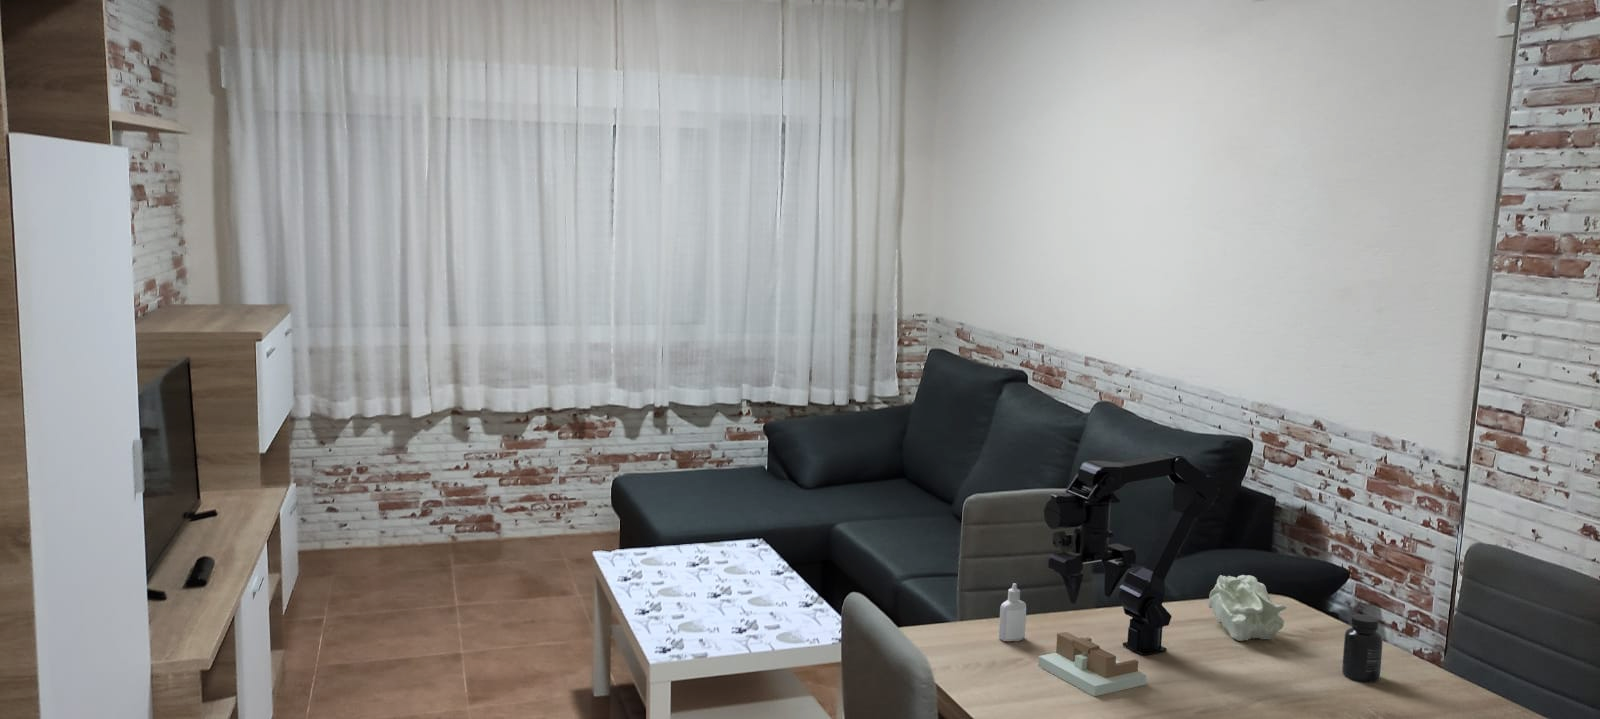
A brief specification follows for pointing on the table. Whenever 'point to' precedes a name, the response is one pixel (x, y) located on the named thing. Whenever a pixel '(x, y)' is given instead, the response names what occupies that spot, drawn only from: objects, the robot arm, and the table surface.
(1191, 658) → the table surface
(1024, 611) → the eye dropper bottle
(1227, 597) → the folded clay sculpture
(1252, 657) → the table surface
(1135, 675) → the stand
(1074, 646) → the brown c-shaped bracket
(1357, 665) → the supplement bottle
